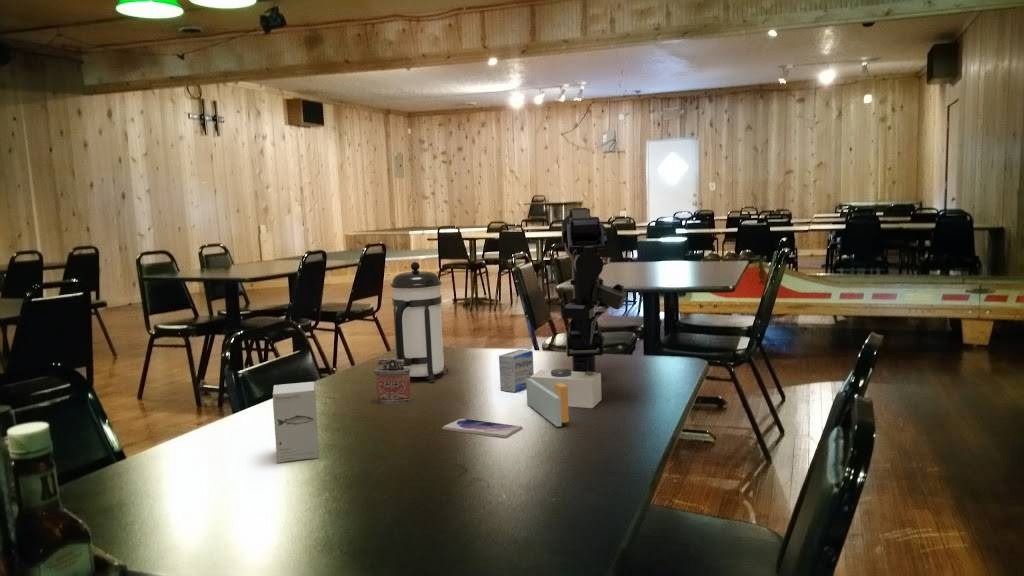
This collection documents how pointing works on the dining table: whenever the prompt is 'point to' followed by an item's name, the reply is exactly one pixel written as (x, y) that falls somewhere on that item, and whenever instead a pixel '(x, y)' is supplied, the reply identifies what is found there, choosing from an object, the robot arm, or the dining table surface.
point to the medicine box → (515, 370)
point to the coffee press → (418, 322)
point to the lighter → (393, 382)
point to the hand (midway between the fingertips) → (588, 344)
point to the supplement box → (295, 421)
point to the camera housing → (573, 385)
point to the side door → (549, 401)
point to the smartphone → (482, 428)
